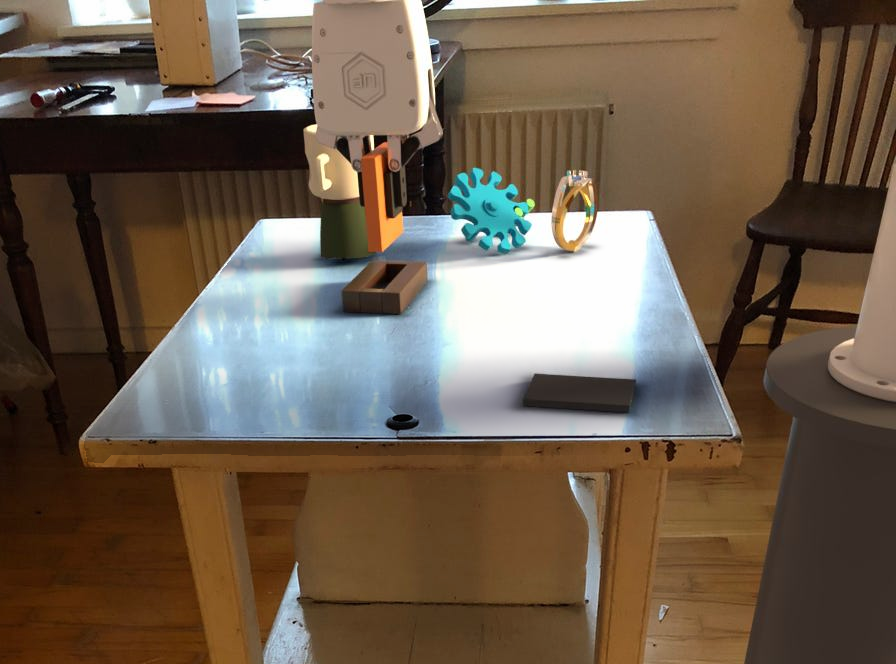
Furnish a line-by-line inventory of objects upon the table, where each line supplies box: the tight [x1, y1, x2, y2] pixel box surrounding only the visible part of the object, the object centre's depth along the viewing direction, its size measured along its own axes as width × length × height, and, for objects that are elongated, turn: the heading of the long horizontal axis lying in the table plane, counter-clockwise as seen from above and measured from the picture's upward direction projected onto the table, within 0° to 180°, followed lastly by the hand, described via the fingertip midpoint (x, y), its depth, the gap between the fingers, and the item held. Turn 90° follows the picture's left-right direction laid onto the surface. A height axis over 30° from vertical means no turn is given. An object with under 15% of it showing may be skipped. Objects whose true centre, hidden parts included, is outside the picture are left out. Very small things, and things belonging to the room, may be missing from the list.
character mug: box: [303, 123, 377, 263], centre depth 103 cm, size 11×7×13 cm, turn 158°
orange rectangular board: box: [361, 141, 404, 253], centre depth 91 cm, size 1×7×8 cm, turn 165°
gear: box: [447, 167, 536, 255], centre depth 108 cm, size 11×6×10 cm
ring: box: [550, 169, 599, 253], centre depth 103 cm, size 7×3×8 cm, turn 134°
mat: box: [522, 373, 637, 414], centre depth 75 cm, size 8×5×1 cm, turn 74°
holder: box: [340, 259, 429, 315], centre depth 96 cm, size 6×10×2 cm, turn 164°
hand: (384, 213), depth 91 cm, fingers closed on orange rectangular board, 1 cm apart
